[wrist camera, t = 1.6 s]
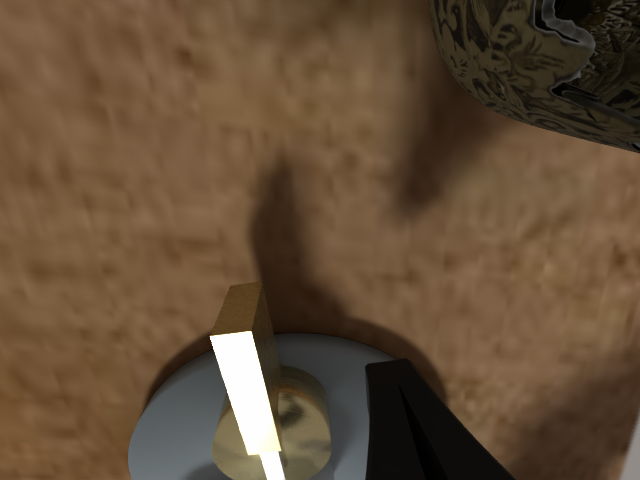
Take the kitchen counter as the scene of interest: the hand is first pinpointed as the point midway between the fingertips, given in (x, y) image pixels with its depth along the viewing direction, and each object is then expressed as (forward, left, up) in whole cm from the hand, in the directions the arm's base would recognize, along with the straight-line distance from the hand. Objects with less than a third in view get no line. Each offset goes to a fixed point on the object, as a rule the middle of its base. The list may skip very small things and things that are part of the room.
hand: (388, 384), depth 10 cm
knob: (0, +5, -3) cm, 6 cm away
